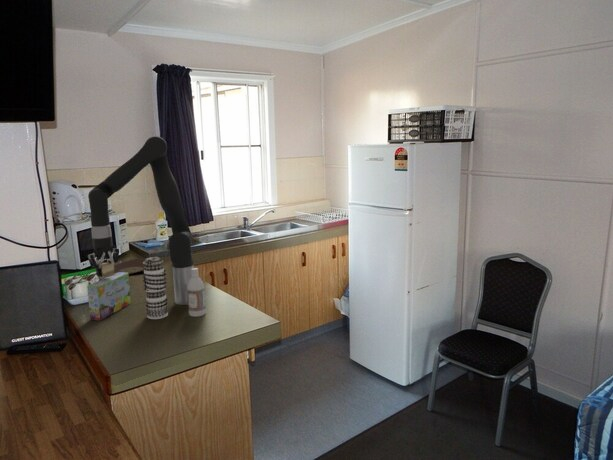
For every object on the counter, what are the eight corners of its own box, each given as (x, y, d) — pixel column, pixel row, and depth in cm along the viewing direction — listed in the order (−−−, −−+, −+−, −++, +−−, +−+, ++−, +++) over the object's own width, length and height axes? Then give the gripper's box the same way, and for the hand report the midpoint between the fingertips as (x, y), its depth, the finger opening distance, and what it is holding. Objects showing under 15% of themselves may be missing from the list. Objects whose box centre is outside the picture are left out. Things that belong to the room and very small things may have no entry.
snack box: (101, 321, 180) (97, 286, 177) (89, 320, 181) (85, 285, 178) (131, 303, 200) (128, 271, 197) (120, 302, 201) (117, 271, 198)
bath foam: (185, 316, 183) (182, 270, 180) (194, 310, 190) (191, 266, 186) (200, 317, 181) (197, 271, 178) (208, 312, 188) (206, 267, 184)
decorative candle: (173, 315, 185) (168, 258, 180) (152, 321, 178) (147, 262, 174) (163, 309, 191) (158, 254, 186) (142, 315, 185) (137, 258, 180)
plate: (101, 269, 259) (100, 263, 258) (147, 261, 277) (146, 255, 277) (117, 279, 238) (117, 273, 238) (166, 269, 257) (166, 263, 256)
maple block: (114, 275, 187) (113, 263, 186) (104, 278, 183) (103, 266, 182) (107, 273, 190) (106, 262, 189) (96, 276, 186) (95, 265, 185)
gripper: (91, 239, 175) (96, 280, 178) (122, 233, 188) (126, 271, 191) (80, 238, 179) (85, 278, 182) (111, 232, 191) (114, 269, 194)
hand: (105, 274), depth 186 cm, fingers closed on maple block, 5 cm apart
